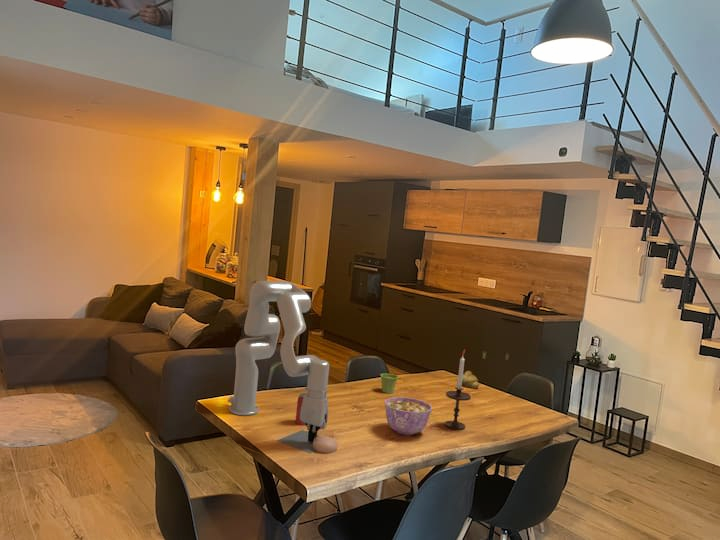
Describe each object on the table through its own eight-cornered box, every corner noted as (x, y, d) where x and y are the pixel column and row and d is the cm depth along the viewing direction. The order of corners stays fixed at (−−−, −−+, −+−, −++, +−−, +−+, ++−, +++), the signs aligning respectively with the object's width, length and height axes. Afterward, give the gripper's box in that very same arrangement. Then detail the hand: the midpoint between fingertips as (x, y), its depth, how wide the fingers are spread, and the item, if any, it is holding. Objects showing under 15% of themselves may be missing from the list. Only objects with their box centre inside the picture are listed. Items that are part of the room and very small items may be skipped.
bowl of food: (395, 442, 212) (398, 413, 211) (374, 424, 230) (376, 397, 229) (438, 439, 220) (441, 411, 219) (414, 421, 238) (417, 396, 237)
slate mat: (275, 441, 200) (276, 440, 200) (302, 431, 213) (302, 429, 213) (309, 454, 191) (310, 453, 191) (335, 442, 205) (335, 441, 205)
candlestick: (462, 422, 244) (470, 346, 242) (470, 431, 233) (479, 352, 231) (439, 421, 242) (447, 345, 240) (447, 430, 231) (456, 350, 229)
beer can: (313, 422, 224) (316, 394, 223) (307, 427, 218) (309, 398, 217) (299, 419, 226) (302, 391, 225) (292, 424, 220) (295, 395, 219)
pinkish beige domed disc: (307, 447, 196) (308, 440, 196) (322, 440, 203) (323, 434, 203) (326, 456, 191) (328, 449, 191) (341, 449, 199) (342, 442, 198)
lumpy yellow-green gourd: (482, 389, 307) (483, 375, 307) (468, 389, 303) (470, 375, 302) (468, 382, 319) (469, 369, 318) (455, 383, 314) (456, 370, 314)
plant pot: (377, 388, 286) (379, 372, 285) (394, 389, 287) (396, 374, 286) (380, 393, 277) (381, 377, 276) (398, 395, 278) (399, 378, 277)
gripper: (294, 390, 200) (290, 438, 202) (327, 400, 193) (322, 449, 194) (307, 386, 207) (302, 433, 208) (338, 396, 199) (333, 444, 200)
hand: (312, 440), depth 201 cm, fingers closed
